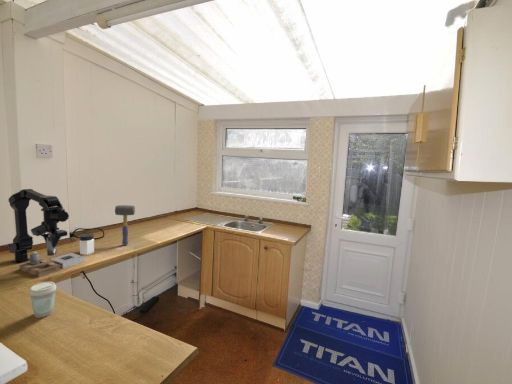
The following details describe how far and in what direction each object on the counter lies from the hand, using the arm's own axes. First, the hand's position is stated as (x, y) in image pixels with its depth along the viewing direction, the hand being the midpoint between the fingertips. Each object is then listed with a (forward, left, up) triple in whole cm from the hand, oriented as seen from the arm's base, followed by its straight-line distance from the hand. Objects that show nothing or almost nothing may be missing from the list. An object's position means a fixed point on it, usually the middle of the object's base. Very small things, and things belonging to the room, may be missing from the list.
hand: (51, 246), depth 140 cm
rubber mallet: (0, +48, -13) cm, 50 cm away
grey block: (0, 0, -4) cm, 5 cm away
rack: (-4, -4, -13) cm, 14 cm away
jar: (-8, +25, -13) cm, 30 cm away
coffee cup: (+41, -26, -13) cm, 50 cm away
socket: (-2, +9, -13) cm, 16 cm away
